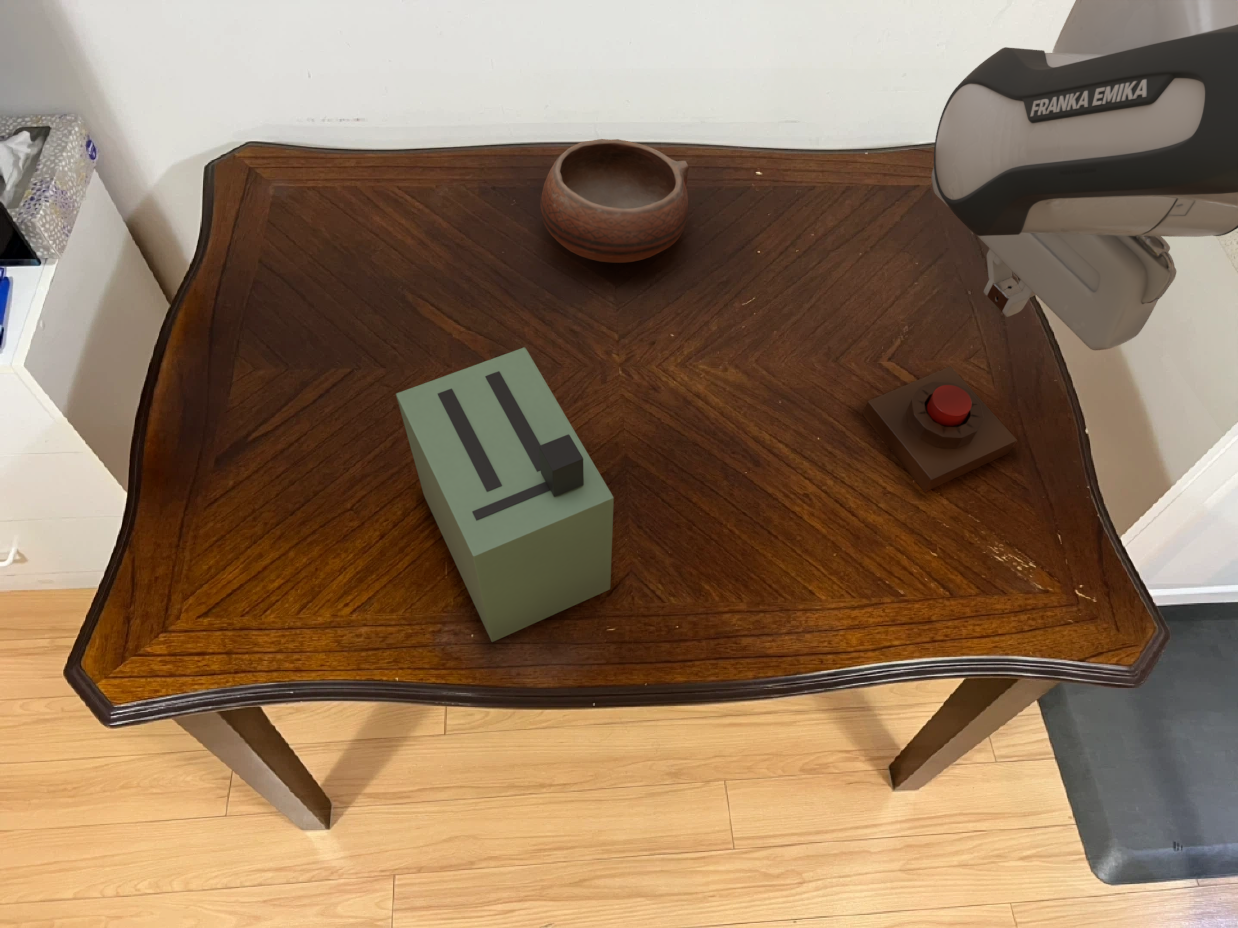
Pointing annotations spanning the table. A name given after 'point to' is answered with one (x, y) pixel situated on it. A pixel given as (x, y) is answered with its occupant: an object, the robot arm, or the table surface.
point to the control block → (937, 431)
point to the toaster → (508, 492)
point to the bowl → (615, 200)
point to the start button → (949, 405)
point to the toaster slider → (561, 465)
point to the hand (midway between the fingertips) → (1001, 302)
